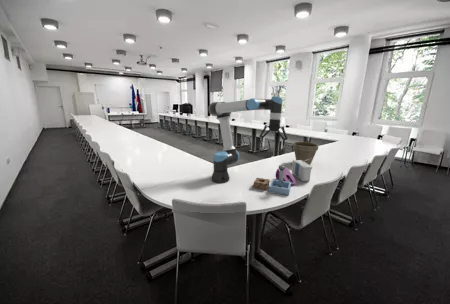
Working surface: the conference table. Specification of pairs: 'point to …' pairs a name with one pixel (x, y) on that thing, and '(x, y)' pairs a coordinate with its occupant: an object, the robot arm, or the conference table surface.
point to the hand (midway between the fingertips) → (272, 147)
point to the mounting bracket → (286, 176)
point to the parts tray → (275, 189)
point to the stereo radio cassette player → (301, 170)
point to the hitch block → (261, 183)
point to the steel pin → (281, 175)
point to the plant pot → (305, 151)
